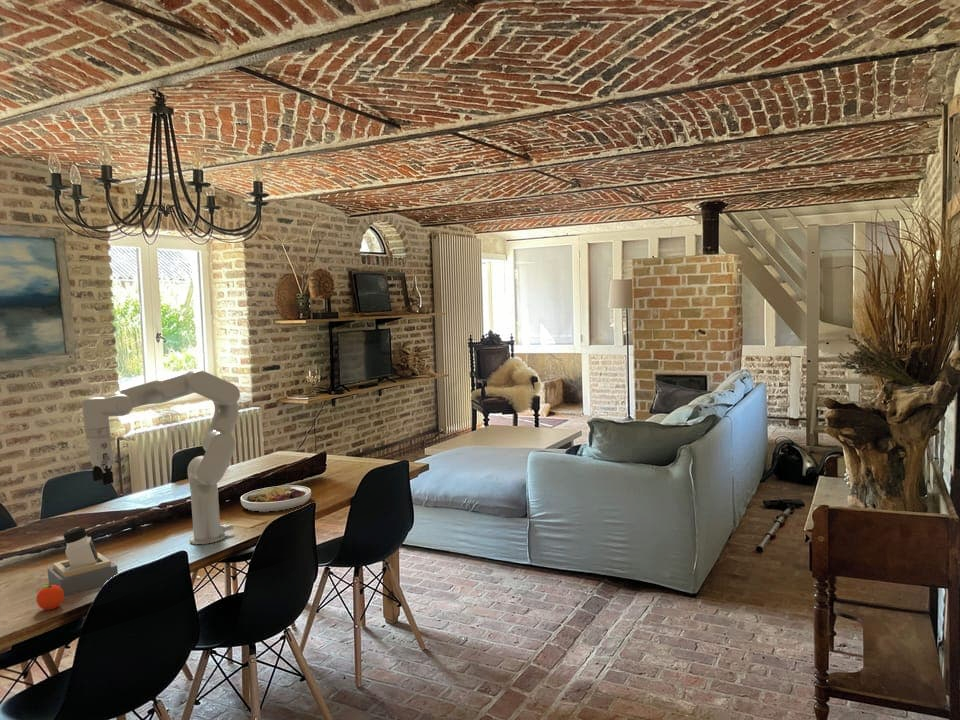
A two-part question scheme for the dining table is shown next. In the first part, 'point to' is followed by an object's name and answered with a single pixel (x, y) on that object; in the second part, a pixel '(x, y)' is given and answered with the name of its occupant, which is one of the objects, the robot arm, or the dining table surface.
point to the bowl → (275, 498)
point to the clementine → (50, 597)
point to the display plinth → (81, 575)
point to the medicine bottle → (79, 548)
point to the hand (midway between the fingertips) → (103, 481)
